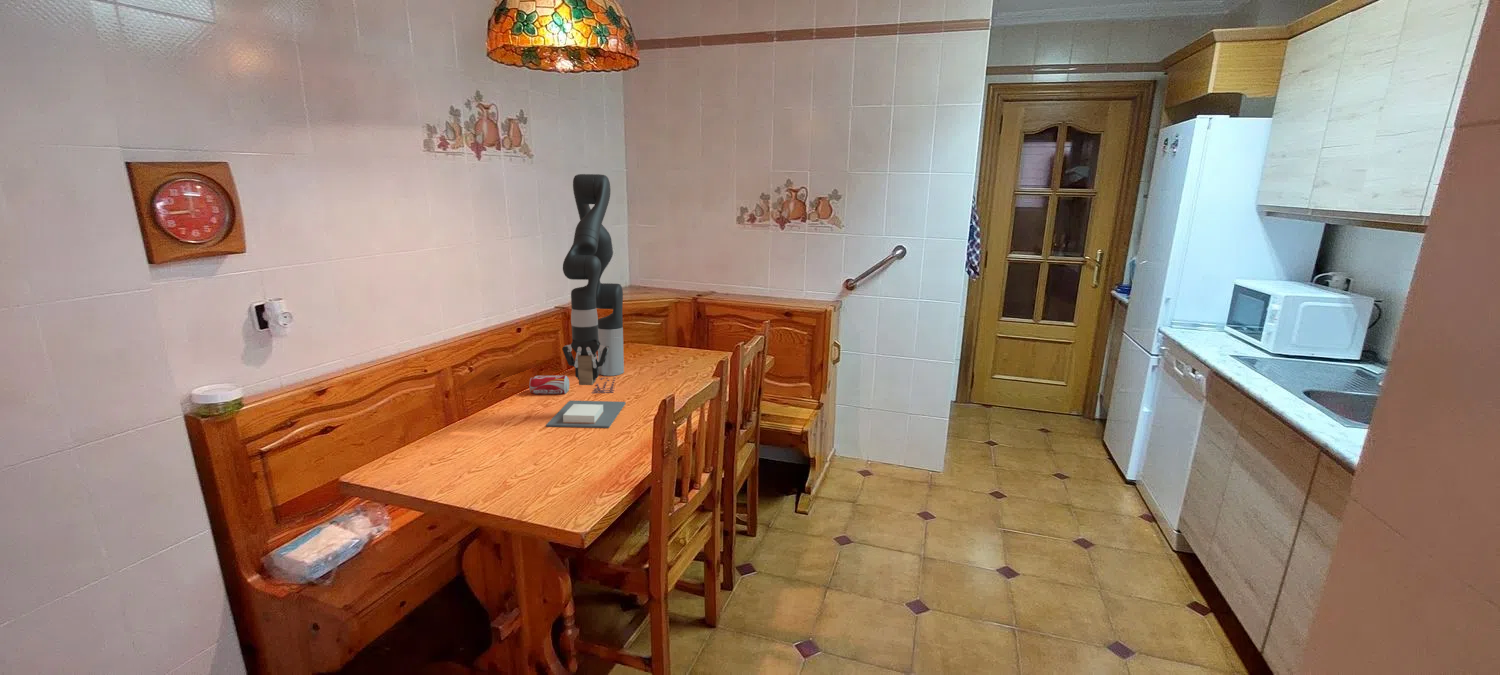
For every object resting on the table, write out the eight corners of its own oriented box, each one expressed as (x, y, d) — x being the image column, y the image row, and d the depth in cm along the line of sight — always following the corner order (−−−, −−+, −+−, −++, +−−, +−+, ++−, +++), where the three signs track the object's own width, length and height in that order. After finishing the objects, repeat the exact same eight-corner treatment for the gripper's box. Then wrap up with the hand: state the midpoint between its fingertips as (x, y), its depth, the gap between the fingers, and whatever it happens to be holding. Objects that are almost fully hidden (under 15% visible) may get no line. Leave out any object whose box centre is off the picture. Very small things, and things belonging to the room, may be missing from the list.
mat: (569, 402, 194) (569, 400, 194) (625, 403, 194) (625, 401, 194) (546, 426, 173) (546, 424, 173) (608, 428, 173) (608, 426, 172)
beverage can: (566, 378, 199) (528, 379, 198) (566, 396, 200) (529, 397, 199) (569, 373, 205) (533, 373, 204) (570, 390, 206) (534, 391, 205)
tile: (573, 404, 184) (563, 415, 174) (603, 404, 183) (594, 415, 174) (573, 411, 184) (563, 422, 174) (603, 412, 184) (594, 423, 174)
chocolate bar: (618, 380, 222) (618, 375, 221) (613, 396, 203) (613, 390, 203) (598, 380, 221) (598, 375, 220) (591, 396, 202) (591, 390, 202)
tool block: (582, 380, 184) (581, 352, 182) (595, 381, 184) (594, 352, 182) (578, 384, 180) (577, 355, 178) (592, 385, 180) (591, 356, 178)
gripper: (611, 321, 181) (613, 375, 185) (564, 320, 182) (567, 374, 186) (605, 326, 174) (607, 383, 178) (556, 325, 174) (559, 382, 178)
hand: (587, 378), depth 182 cm, fingers closed on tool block, 4 cm apart
